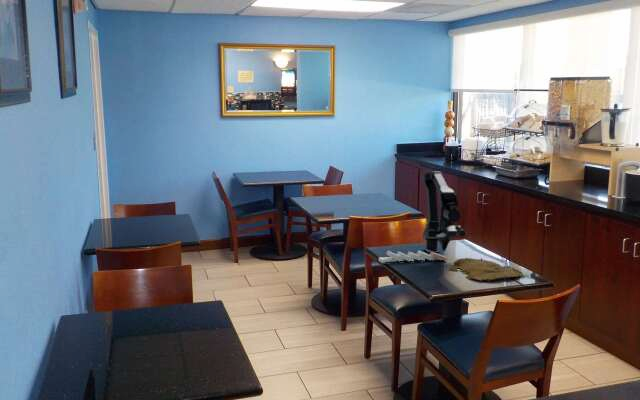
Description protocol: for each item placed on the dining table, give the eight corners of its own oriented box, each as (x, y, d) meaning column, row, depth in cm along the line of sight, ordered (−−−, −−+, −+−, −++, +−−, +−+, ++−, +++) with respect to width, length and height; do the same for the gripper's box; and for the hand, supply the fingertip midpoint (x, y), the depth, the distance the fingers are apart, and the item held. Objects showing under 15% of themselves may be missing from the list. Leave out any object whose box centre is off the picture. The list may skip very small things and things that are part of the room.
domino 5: (429, 259, 273) (416, 253, 271) (430, 255, 273) (418, 250, 271) (433, 261, 269) (420, 256, 267) (434, 257, 269) (421, 252, 267)
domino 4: (420, 259, 272) (407, 254, 270) (421, 255, 272) (408, 251, 270) (423, 261, 268) (410, 257, 266) (425, 258, 267) (412, 253, 266)
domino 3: (409, 260, 270) (396, 254, 268) (410, 256, 270) (398, 251, 268) (412, 262, 265) (399, 257, 263) (414, 259, 265) (401, 253, 263)
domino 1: (393, 260, 269) (378, 261, 268) (393, 257, 269) (378, 257, 268) (396, 263, 265) (381, 263, 263) (396, 259, 264) (381, 260, 263)
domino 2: (397, 259, 269) (386, 253, 267) (399, 256, 269) (387, 250, 267) (402, 262, 265) (390, 256, 262) (404, 259, 265) (392, 253, 262)
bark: (537, 270, 246) (481, 277, 234) (536, 278, 247) (481, 286, 234) (492, 254, 271) (440, 260, 258) (492, 262, 271) (439, 268, 259)
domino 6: (442, 259, 273) (429, 255, 271) (443, 255, 273) (430, 251, 271) (446, 261, 269) (432, 257, 267) (447, 258, 269) (434, 253, 267)
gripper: (434, 221, 259) (432, 255, 261) (472, 220, 263) (470, 254, 265) (424, 216, 269) (422, 249, 272) (461, 216, 274) (459, 248, 276)
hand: (443, 250), depth 271 cm, fingers closed
